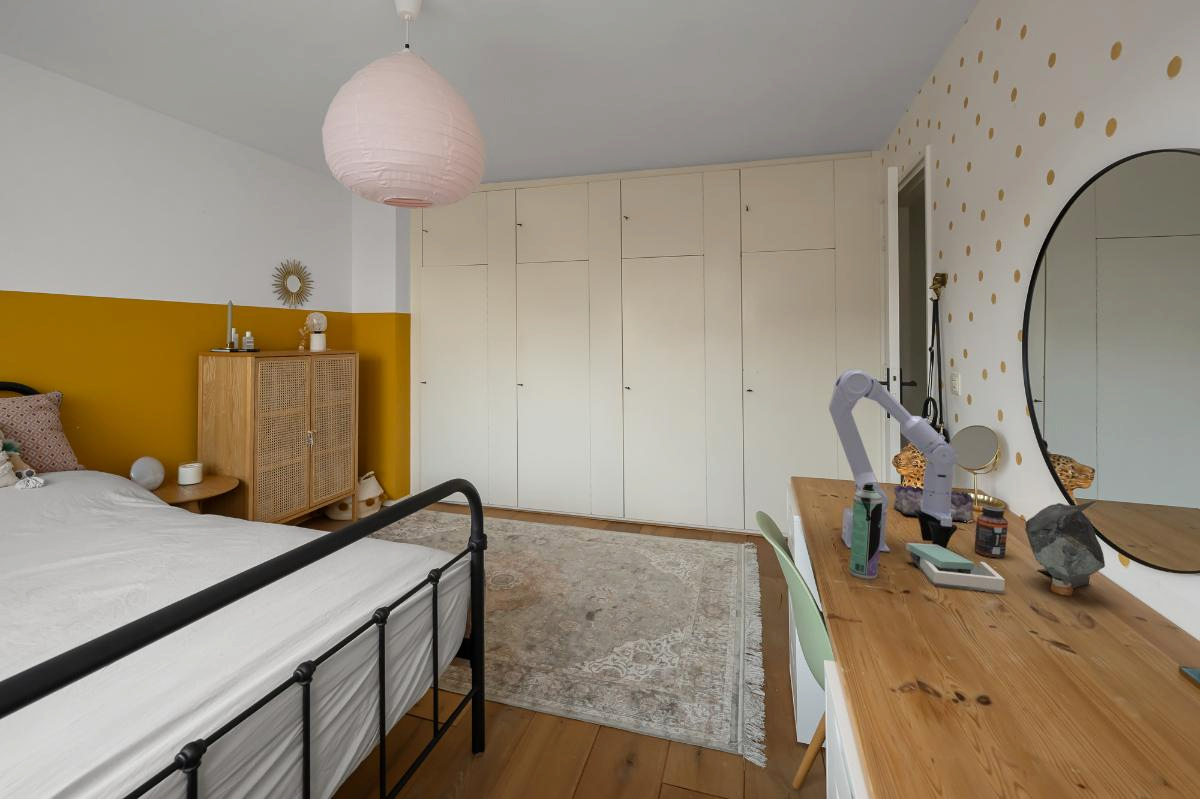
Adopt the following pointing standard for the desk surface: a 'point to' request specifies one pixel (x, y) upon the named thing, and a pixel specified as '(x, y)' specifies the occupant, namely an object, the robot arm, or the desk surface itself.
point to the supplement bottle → (991, 532)
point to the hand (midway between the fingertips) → (933, 546)
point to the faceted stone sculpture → (1065, 546)
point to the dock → (964, 577)
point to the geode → (911, 497)
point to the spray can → (866, 533)
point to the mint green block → (939, 557)
